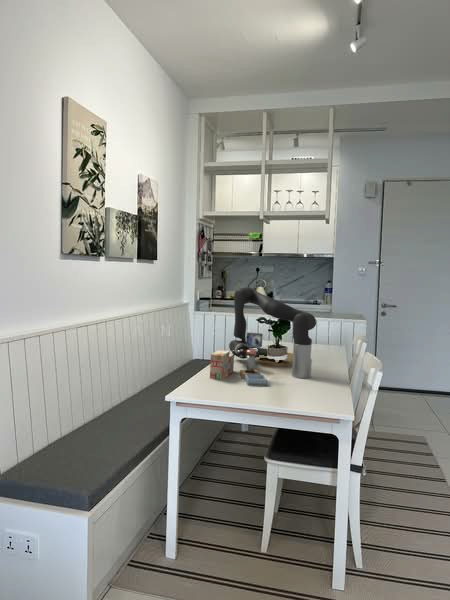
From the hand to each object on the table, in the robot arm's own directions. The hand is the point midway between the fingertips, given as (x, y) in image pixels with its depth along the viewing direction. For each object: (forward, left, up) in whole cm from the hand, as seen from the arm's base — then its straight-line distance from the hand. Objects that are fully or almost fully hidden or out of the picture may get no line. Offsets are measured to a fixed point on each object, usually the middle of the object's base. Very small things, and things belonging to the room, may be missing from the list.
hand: (247, 355), depth 250 cm
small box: (-17, -73, -9) cm, 75 cm away
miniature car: (-20, -35, -10) cm, 42 cm away
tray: (-1, +21, -9) cm, 23 cm away
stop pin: (0, +10, -9) cm, 14 cm away
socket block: (0, +10, -9) cm, 14 cm away
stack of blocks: (+13, +5, -9) cm, 17 cm away
